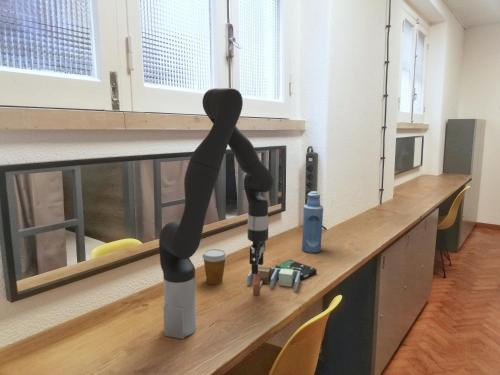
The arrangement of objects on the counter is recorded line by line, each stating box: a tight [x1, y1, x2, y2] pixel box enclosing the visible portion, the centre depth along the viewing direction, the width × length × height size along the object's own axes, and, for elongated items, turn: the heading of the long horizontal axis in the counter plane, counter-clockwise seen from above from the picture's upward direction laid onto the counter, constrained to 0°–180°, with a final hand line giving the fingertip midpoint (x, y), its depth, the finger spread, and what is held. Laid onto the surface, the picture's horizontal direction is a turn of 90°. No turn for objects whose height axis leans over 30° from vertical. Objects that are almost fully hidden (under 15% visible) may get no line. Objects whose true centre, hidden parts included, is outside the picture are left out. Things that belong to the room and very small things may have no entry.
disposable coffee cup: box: [202, 248, 228, 285], centre depth 141 cm, size 10×10×12 cm
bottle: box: [301, 190, 324, 254], centre depth 177 cm, size 10×10×30 cm
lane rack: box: [246, 265, 301, 293], centre depth 141 cm, size 11×19×4 cm, turn 75°
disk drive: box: [274, 259, 318, 281], centre depth 153 cm, size 10×3×15 cm
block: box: [278, 268, 294, 287], centre depth 141 cm, size 5×5×5 cm
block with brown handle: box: [252, 265, 272, 296], centre depth 138 cm, size 16×5×8 cm, turn 165°
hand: (257, 268), depth 131 cm, fingers open, 8 cm apart
